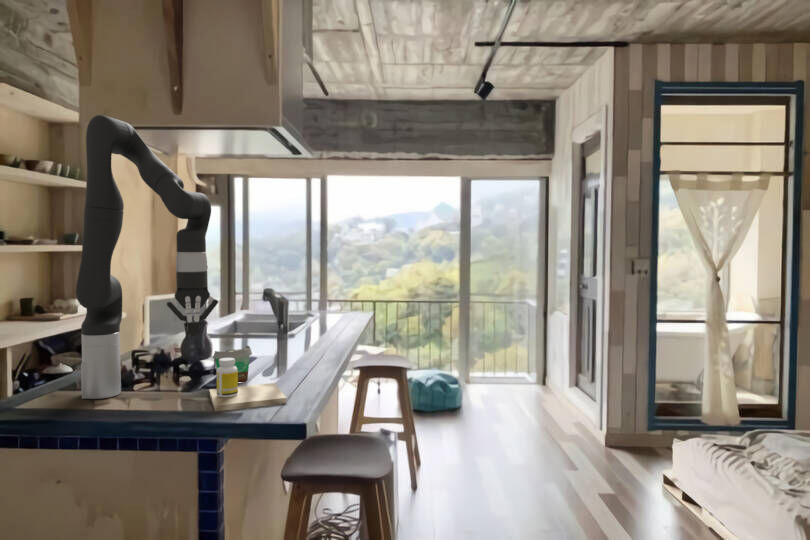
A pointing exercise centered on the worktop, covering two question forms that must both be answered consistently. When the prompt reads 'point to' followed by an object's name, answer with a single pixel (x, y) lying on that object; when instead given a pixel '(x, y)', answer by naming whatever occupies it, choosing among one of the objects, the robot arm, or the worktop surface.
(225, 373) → the supplement bottle
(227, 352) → the food container
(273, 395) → the birch board
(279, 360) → the worktop surface
